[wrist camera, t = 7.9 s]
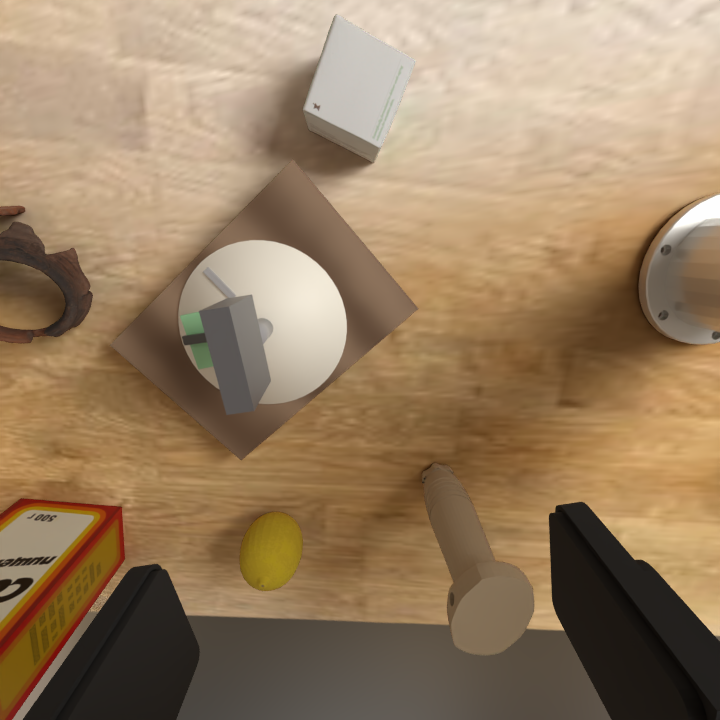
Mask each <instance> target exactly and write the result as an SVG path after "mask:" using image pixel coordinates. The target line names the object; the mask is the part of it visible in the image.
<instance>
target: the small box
mask: <svg viewBox="0 0 720 720" xmlns="http://www.w3.org/2000/svg"><path fill="white" fill-rule="evenodd" d="M414 65H415V59H413V58H411V57H409V56H408V55H406V54H404V53H403V52H401V51H399V50H397V49H396V48H394V47H392V46H390V45H388V44H387V43H385V42H383V41H381V40H379V39H378V38H376V37H374V36H373V35H371V34H369V33H368V32H366V31H364V30H363V29H361V28H359V27H358V26H356V25H354V24H353V23H351V22H349V21H348V20H346V19H344V18H343V17H341V16H339V15H337V14H336V15H335V16H334V18H333V21H332V24H331V27H330V29H329V32H328V35H327V38H326V41H325V44H324V47H323V50H322V53H321V57H320V59H319V62H318V65H317V68H316V71H315V74H314V77H313V80H312V83H311V85H310V88H309V92H308V95H307V98H306V101H305V104H304V107H303V113H304V116H305V119H306V122H307V125H308V129H309V130H310V131H312V132H314V133H316V134H318V135H320V136H322V137H324V138H326V139H328V140H330V141H332V142H334V143H336V144H338V145H340V146H342V147H344V148H346V149H348V150H349V151H351V152H353V153H355V154H357V155H359V156H361V157H363V158H365V159H367V160H369V161H371V162H372V163H374V162H375V160H376V158H377V156H378V153H379V151H380V149H381V147H382V145H383V142H384V140H385V138H386V136H387V134H388V131H389V129H390V127H391V124H392V122H393V119H394V117H395V115H396V112H397V109H398V107H399V104H400V102H401V99H402V97H403V94H404V91H405V89H406V86H407V83H408V81H409V78H410V76H411V73H412V70H413V68H414Z"/></svg>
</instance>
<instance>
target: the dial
mask: <svg viewBox="0 0 720 720" xmlns="http://www.w3.org/2000/svg"><path fill="white" fill-rule="evenodd" d="M246 295H252V297H253V301H254V306H255V310H256V315H257V319H259V318H265V319H268V320H269V321H270V322H271V323H272V325H273V332H272V334H271V336H270V337H269V338H268V339H267V340H266V342H265V343H264V344H263V346H264V351H265V355H266V360H267V364H268V369H269V373H270V378H271V382H270V384H269V386H268V387H267V389H266V391H265V393H264V395H263V396H262V398H261V400H260V402H259V404H279V403H285V402H289V401H293V400H296V399H298V398H301V397H303V396H305V395H307V394H309V393H311V392H312V391H314V390H315V389H316V388H318V387H319V386H320V385H322V384H323V383H324V382H325V381H326V380H327V379H328V377H329V376H330V375H331V374H332V372H333V371H334V370H335V368H336V366H337V364H338V363H339V361H340V358H341V356H342V353H343V350H344V346H345V342H346V334H347V320H346V313H345V308H344V305H343V301H342V298H341V296H340V294H339V291H338V289H337V287H336V286H335V284H334V282H333V281H332V279H331V278H330V277H329V275H328V274H327V273H326V271H325V270H324V269H323V268H322V267H321V266H320V265H319V264H318V263H317V262H315V261H314V260H313V259H311V258H310V257H309V256H307V255H306V254H304V253H302V252H301V251H299V250H297V249H295V248H292V247H290V246H288V245H285V244H281V243H277V242H272V241H265V240H249V241H242V242H237V243H234V244H230V245H227V246H225V247H223V248H221V249H218V250H217V251H215V252H214V253H212V254H210V255H209V256H208V257H206V258H205V259H204V260H203V261H202V262H201V263H200V264H199V265H198V266H197V267H196V268H195V270H194V271H193V272H192V274H191V275H190V277H189V278H188V280H187V282H186V284H185V287H184V289H183V291H182V295H181V298H180V303H179V311H178V323H179V330H180V335H181V339H182V336H184V335H191V334H198V333H204V329H203V325H202V321H201V318H200V314H199V311H200V310H202V309H204V308H206V307H209V306H211V305H213V304H215V303H218V302H220V301H222V300H224V299H227V298H232V297H239V296H246ZM182 342H183V340H182ZM183 345H184V343H183ZM184 348H185V350H186V352H187V355H188V356H189V358H190V360H191V361H192V363H193V365H194V366H195V367H196V369H197V370H198V371H199V372H200V373H201V375H202V376H203V377H204V378H205V379H206V380H207V381H209V382H210V383H211V384H212V385H214V386H215V387H216V388H218V389H219V385H218V381H217V377H216V374H215V370H214V366H213V363H212V359H211V355H210V351H209V348H208V344H207V342H206V343H199V344H192V345H185V346H184ZM219 390H220V389H219Z"/></svg>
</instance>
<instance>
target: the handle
mask: <svg viewBox="0 0 720 720" xmlns="http://www.w3.org/2000/svg"><path fill="white" fill-rule="evenodd" d="M453 473H454V472H453V471H452V469H451V468H450V467H449V466H448V465H439V464H438V463H434V464H432V466H431V467H430V468H429V469H427V470H426V471H423V473H422V483H424V498H425V503H426V508H427V512H428V515H429V519H430V522H431V525H432V528H433V530H434V533H435V535H436V538H437V540H438V543H439V545H440V548H441V550H442V553H443V555H444V558H445V561H446V563H447V566H448V569H449V571H450V574H451V576H452V579H453V582H454V583H453V584H452V586H451V587H450V589H449V593H448V601H447V614H448V621H449V626H450V630H451V634H452V638H453V642H454V645H455V646H456V647H457V648H459V649H460V650H462V651H464V652H467V653H471V654H475V655H493V654H497V653H501V652H503V651H504V650H506V649H507V648H508V647H509V646H510V645H512V644H513V643H514V642H515V641H516V640H518V639H519V637H520V636H521V635H522V634H523V632H524V631H525V630H526V628H527V626H528V624H529V622H530V619H531V617H532V615H533V612H534V595H533V588H532V586H531V584H530V582H529V581H528V579H527V577H526V575H525V574H524V573H523V572H522V571H521V570H520V569H519V568H517V567H516V566H514V565H512V564H509V563H505V562H498V561H495V558H494V556H493V553H492V551H491V548H490V546H489V543H488V541H487V539H486V536H485V533H484V531H483V528H482V526H481V523H480V521H479V518H478V515H477V513H476V510H475V508H474V506H473V504H472V502H471V500H470V498H469V496H468V494H467V492H466V491H465V489H464V487H463V486H462V484H461V483H460V481H459V480H458V479H457V478H456V476H455V475H454V474H453Z"/></svg>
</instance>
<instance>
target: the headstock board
mask: <svg viewBox="0 0 720 720" xmlns="http://www.w3.org/2000/svg"><path fill="white" fill-rule="evenodd" d="M249 240H265V241H272V242H277V243H281V244H285V245H288V246H290V247H292V248H295V249H297V250H299V251H301V252H302V253H304V254H306V255H307V256H309V257H310V258H311V259H313V260H314V261H315V262H317V263H318V264H319V265H320V266H321V267H322V268H323V269H324V270H325V271H326V273H327V274H328V275H329V277H330V278H331V279H332V281H333V282H334V284H335V286H336V287H337V289H338V291H339V294H340V296H341V298H342V301H343V305H344V308H345V313H346V320H347V334H346V342H345V346H344V350H343V353H342V356H341V358H340V361H339V363H338V364H337V366H336V368H335V370H334V371H333V372H332V374H331V375H330V376H329V377H328V379H327V380H326V381H325V382H324V383H323V384H322V385H320V386H319V387H318V388H316V389H315V390H314V391H312V392H311V393H309V394H307V395H305V396H303V397H301V398H298V399H296V400H293V401H289V402H285V403H279V404H258V405H257V407H256V409H255V411H251V412H244V413H237V414H230V415H226V411H225V407H224V404H223V400H222V396H221V392H220V390H219V389H218V388H216V387H215V386H214V385H212V384H211V383H210V382H209V381H207V380H206V379H205V378H204V377H203V376H202V375H201V373H200V372H199V371H198V370H197V369H196V367H195V366H194V365H193V363H192V361H191V360H190V358H189V356H188V355H187V352H186V350H185V348H184V345H183V342H182V339H181V335H180V330H179V323H178V311H179V303H180V298H181V295H182V291H183V289H184V287H185V284H186V282H187V280H188V278H189V277H190V275H191V274H192V272H193V271H194V270H195V268H196V267H197V266H198V265H199V264H200V263H201V262H202V261H203V260H204V259H205V258H206V257H208V256H209V255H210V254H212V253H214V252H215V251H217V250H218V249H221V248H223V247H225V246H227V245H230V244H234V243H237V242H242V241H249ZM416 310H418V308H417V306H416V305H415V304H414V303H413V302H412V300H411V299H410V298H409V297H408V296H407V295H406V293H405V292H404V291H403V290H402V289H401V287H400V286H399V285H398V284H397V283H396V281H395V280H394V279H393V278H392V277H391V275H390V274H389V273H388V272H387V271H386V270H385V268H384V267H383V266H382V265H381V264H380V262H379V261H378V260H377V259H376V258H375V256H374V255H373V254H372V253H371V252H370V250H369V249H368V248H367V247H366V246H365V244H364V243H363V242H362V241H361V240H360V239H359V237H358V236H357V235H356V234H355V233H354V231H353V230H352V229H351V228H350V227H349V225H348V224H347V223H346V222H345V221H344V219H343V218H342V217H341V216H340V215H339V214H338V212H337V211H336V210H335V209H334V208H333V206H332V205H331V204H330V203H329V202H328V200H327V199H326V198H325V197H324V196H323V194H322V193H321V192H320V191H319V190H318V188H317V187H316V186H315V185H314V184H313V183H312V181H311V180H310V179H309V178H308V177H307V175H306V174H305V173H304V172H303V171H302V169H301V168H300V167H299V166H298V165H297V163H296V162H295V161H294V160H292V161H291V162H290V163H289V164H288V165H287V166H286V167H285V168H284V169H283V170H282V171H281V172H280V173H279V174H278V175H277V176H276V177H275V178H274V179H273V180H272V181H271V182H270V183H269V184H268V185H267V186H266V187H265V188H264V189H263V190H262V191H261V192H260V193H259V194H258V195H257V196H256V197H255V198H254V199H253V200H252V201H251V202H250V203H249V204H248V205H247V206H246V207H245V208H244V209H243V210H242V211H241V213H240V214H239V215H238V216H237V217H236V218H235V219H234V220H233V221H232V222H231V223H230V224H229V225H228V226H227V227H226V228H225V229H224V230H223V231H222V232H221V233H220V234H219V235H218V236H217V237H216V238H215V239H214V240H213V241H212V242H211V243H210V244H209V245H208V246H207V247H206V248H205V249H204V250H203V251H202V252H201V253H200V254H199V255H198V256H197V257H196V258H195V259H194V260H193V261H192V262H191V263H190V264H189V265H188V266H187V267H186V268H185V269H184V270H183V271H182V272H181V273H180V274H179V275H178V276H177V277H176V278H175V279H174V280H173V281H172V282H171V284H170V285H169V286H168V287H167V288H166V289H165V290H164V291H163V292H162V293H161V294H160V295H159V296H158V297H157V298H156V299H155V300H154V301H153V302H152V303H151V304H150V305H149V306H148V307H147V308H146V309H145V310H144V311H143V312H142V313H141V314H140V315H139V316H138V317H137V318H136V319H135V320H134V321H133V322H132V323H131V324H130V325H129V326H128V327H127V328H126V329H125V330H124V331H123V332H122V333H121V334H120V335H119V336H118V337H117V338H116V339H115V340H114V341H113V342H112V343H111V344H110V346H111V347H112V348H114V349H115V350H116V351H117V352H118V353H119V354H120V355H122V356H123V357H124V358H125V359H126V360H127V361H128V362H130V363H131V364H132V365H133V366H134V367H135V368H136V369H138V370H139V371H140V372H141V373H142V374H143V375H144V376H146V377H147V378H148V379H149V380H150V381H151V382H152V383H153V384H155V385H156V386H157V387H158V388H159V389H160V390H161V391H163V392H164V393H165V394H166V395H167V396H168V397H169V398H171V399H172V400H173V401H174V402H175V403H176V404H177V405H179V406H180V407H181V408H182V409H183V410H184V411H185V412H187V413H188V414H189V415H190V416H191V417H192V418H193V419H195V420H196V421H197V422H198V423H199V424H200V425H201V426H203V427H204V428H205V429H206V430H207V431H208V432H209V433H211V434H212V435H213V436H214V437H215V438H216V439H217V440H219V441H220V442H221V443H222V444H223V445H224V446H225V447H226V448H228V449H229V450H230V451H231V452H232V453H233V454H234V455H236V456H237V457H238V458H239V459H240V460H242V459H243V458H244V457H246V456H247V455H248V454H249V453H250V452H252V451H253V450H254V449H255V448H256V447H257V446H259V445H260V444H261V443H262V442H263V441H264V440H266V439H267V438H268V437H269V436H270V435H271V434H273V433H274V432H275V431H276V430H277V429H278V428H280V427H281V426H282V425H283V424H284V423H285V422H287V421H288V420H289V419H290V418H291V417H292V416H294V415H295V414H296V413H297V412H298V411H299V410H301V409H302V408H303V407H304V406H305V405H306V404H308V403H309V402H310V401H311V400H312V399H313V398H315V397H316V396H317V395H318V394H319V393H320V392H322V391H323V390H324V389H325V388H326V387H327V386H329V385H330V384H331V383H332V382H333V381H335V380H336V379H337V378H338V377H339V376H340V375H342V374H343V373H344V372H345V371H346V370H347V369H349V368H350V367H351V366H352V365H353V364H354V363H356V362H357V361H358V360H359V359H360V358H361V357H363V356H364V355H365V354H366V353H367V352H368V351H370V350H371V349H372V348H373V347H374V346H375V345H377V344H378V343H379V342H380V341H381V340H382V339H384V338H385V337H386V336H387V335H388V334H389V333H391V332H392V331H393V330H394V329H395V328H396V327H398V326H399V325H400V324H401V323H402V322H403V321H405V320H406V319H407V318H408V317H409V316H410V315H412V314H413V313H414V312H415V311H416Z"/></svg>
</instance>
